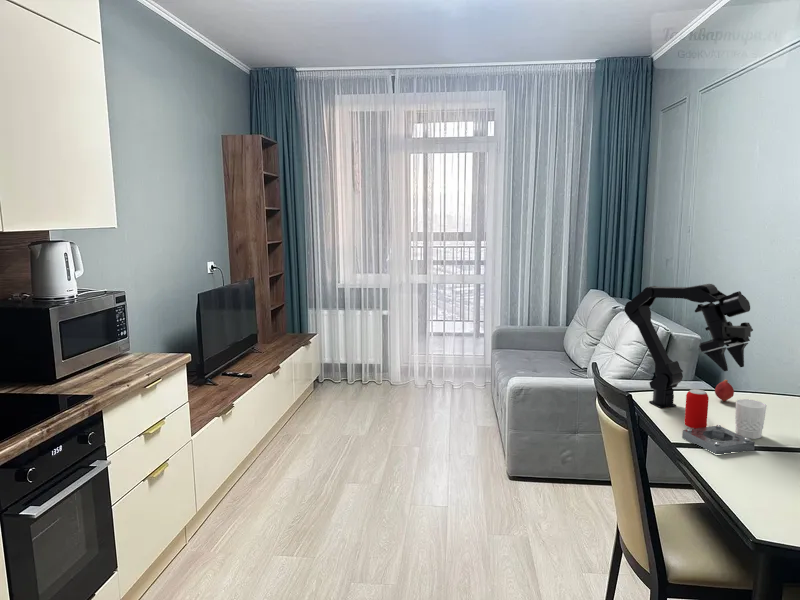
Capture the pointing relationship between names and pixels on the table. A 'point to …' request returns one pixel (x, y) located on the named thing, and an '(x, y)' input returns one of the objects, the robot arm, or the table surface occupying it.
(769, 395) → the table surface
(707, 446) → the housing
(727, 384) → the onion
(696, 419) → the beverage can
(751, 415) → the white cup
